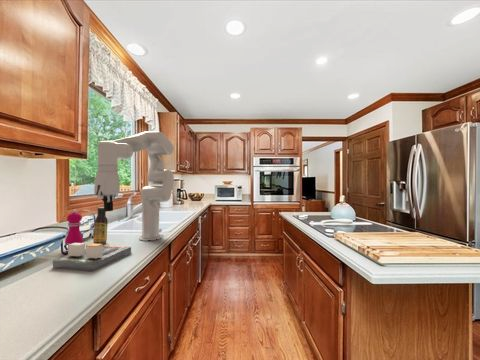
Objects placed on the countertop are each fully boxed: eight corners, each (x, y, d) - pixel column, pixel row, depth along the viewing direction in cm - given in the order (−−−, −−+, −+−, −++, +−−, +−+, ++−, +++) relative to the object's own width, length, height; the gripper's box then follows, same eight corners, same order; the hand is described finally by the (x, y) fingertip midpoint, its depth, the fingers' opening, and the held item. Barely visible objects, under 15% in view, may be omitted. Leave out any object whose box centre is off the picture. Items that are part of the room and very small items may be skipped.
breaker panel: (98, 250, 108) (98, 244, 108) (131, 253, 105) (131, 246, 105) (52, 267, 87) (52, 259, 87) (92, 271, 83) (92, 263, 83)
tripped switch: (91, 255, 91) (92, 243, 92) (102, 255, 91) (102, 244, 91) (85, 257, 88) (85, 245, 89) (96, 258, 88) (96, 246, 88)
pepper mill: (86, 247, 113) (87, 208, 113) (74, 252, 106) (75, 210, 106) (73, 247, 114) (74, 208, 114) (60, 251, 106) (61, 210, 107)
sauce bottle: (91, 245, 117) (91, 208, 117) (96, 242, 123) (96, 206, 123) (104, 245, 118) (105, 208, 118) (109, 241, 124) (109, 206, 125)
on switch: (74, 253, 94) (74, 242, 94) (84, 254, 93) (85, 243, 93) (68, 255, 91) (68, 244, 91) (78, 256, 90) (78, 245, 90)
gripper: (113, 169, 105) (113, 208, 106) (86, 169, 91) (86, 213, 91) (127, 169, 104) (127, 208, 105) (101, 169, 89) (102, 214, 90)
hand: (108, 210), depth 98 cm, fingers closed
